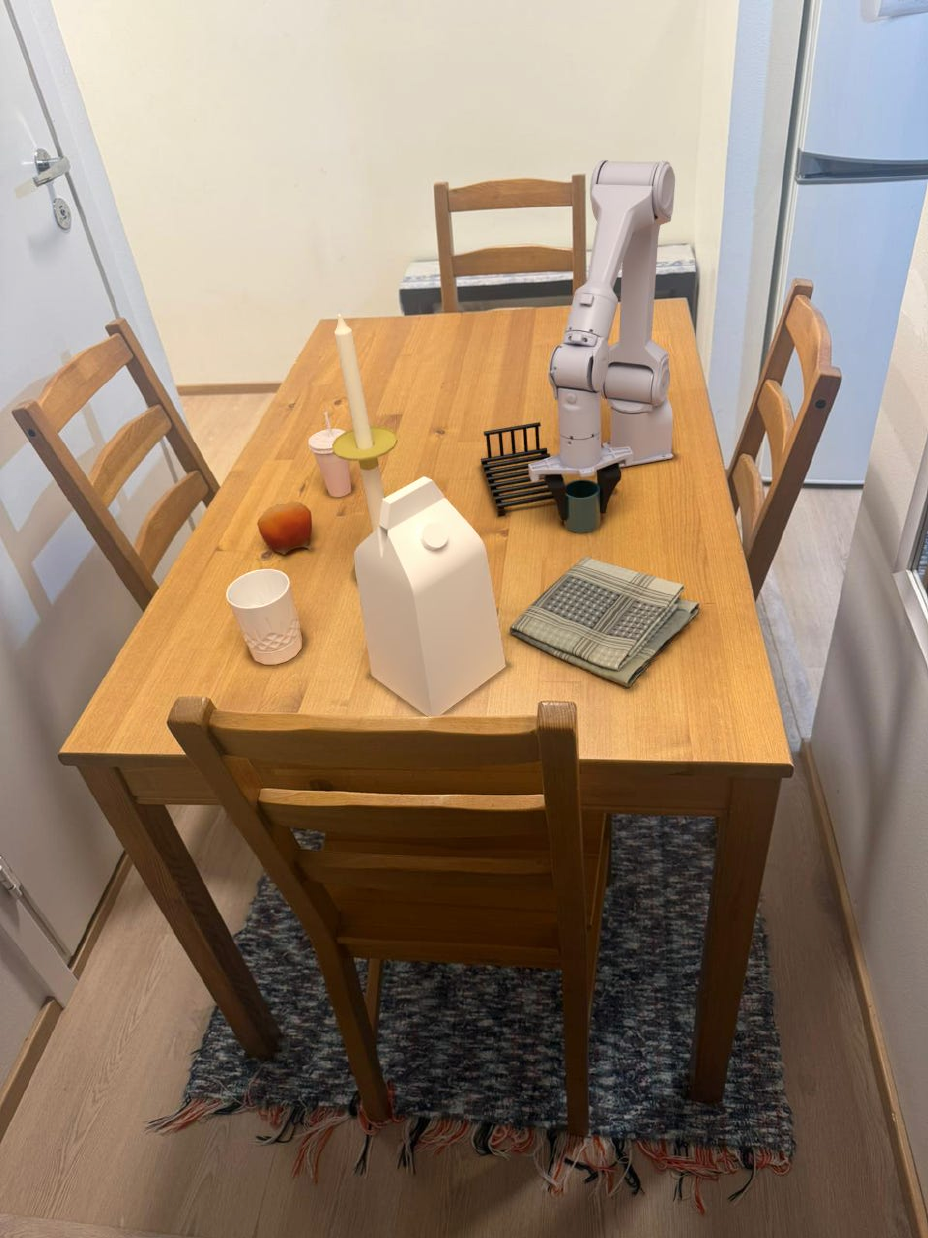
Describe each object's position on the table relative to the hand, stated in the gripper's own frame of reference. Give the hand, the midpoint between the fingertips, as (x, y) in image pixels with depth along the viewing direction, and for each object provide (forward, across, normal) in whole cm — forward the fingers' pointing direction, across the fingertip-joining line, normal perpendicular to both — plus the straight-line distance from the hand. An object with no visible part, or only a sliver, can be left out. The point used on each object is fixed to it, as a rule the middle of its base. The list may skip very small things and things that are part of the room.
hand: (581, 513), depth 128 cm
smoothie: (+2, -35, +21) cm, 41 cm away
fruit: (+2, -43, +8) cm, 44 cm away
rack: (+2, -6, +13) cm, 14 cm away
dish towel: (+2, -3, -23) cm, 23 cm away
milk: (+2, -25, -26) cm, 36 cm away
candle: (+2, -29, -3) cm, 29 cm away
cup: (+2, 0, 0) cm, 2 cm away
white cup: (+2, -45, -16) cm, 48 cm away
